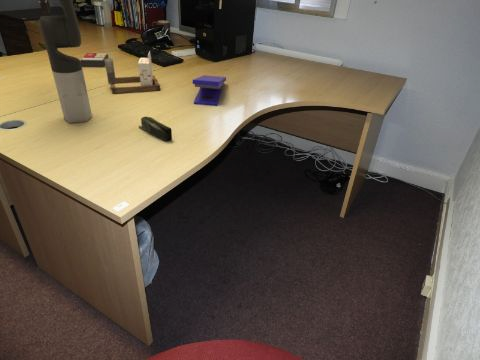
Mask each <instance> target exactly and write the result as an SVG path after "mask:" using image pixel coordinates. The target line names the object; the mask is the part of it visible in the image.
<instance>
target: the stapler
mask: <svg viewBox="0 0 480 360" xmlns="http://www.w3.org/2000/svg"><path fill="white" fill-rule="evenodd" d="M226 81H227V76H219V75H218V76H216V75H207V74H206V75H205V74H204V75H202V76H199V77H196V78H194V79H192V85H194V87H195V88H199V90H198V92H197V94H196V96H195V98H194V100H193V105H199V106H200V105H201V106H209V107H210V106H212V107H214V106H215V107H218V106H219V103H220V100H221V96H222V91H223V89H224V85H225V82H226Z"/></svg>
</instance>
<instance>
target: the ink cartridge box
mask: <svg viewBox="0 0 480 360" xmlns="http://www.w3.org/2000/svg"><path fill="white" fill-rule="evenodd" d="M137 64H138V70H139V72H138V73H139V76H140V81H139V82H140V86H149V85H154V84H153V76H154V75H153V66H152V64H153V63H152V56H151V51H150V50H149V52H148V54H147V57H140V58H139V60H138V62H137Z"/></svg>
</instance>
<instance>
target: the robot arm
mask: <svg viewBox="0 0 480 360" xmlns="http://www.w3.org/2000/svg"><path fill="white" fill-rule="evenodd" d="M37 1H38V3H39V5H40V10H41V13H42V14H43V16H40V18H39V21H38V22H39V29H40V34H41V37H42V39H43V42H44V45H45V49H46V52H47V53H46V54H47V56H48V59H49V65H50V68H51V72H52V76H53V80H54V83H55V89H56V91H57V96H58V100H59V103H60V107H61V112H62V115H63V118H64V120H65V121H66V122H68V123H69V124H72V123H80V122H81V123H82V122H83V123H84V122H88V121H89V120H90V119H92V117H93V113H92V108H91V103H90V99H89V98H90V97H89V95H88V89H87V85H86V80H85V74H84V71H83V70H84V69H83V67H82V64H81V61H80V60H81V59H80V58H78V57H75V56H71V55H68V54H66V53H63V52H61V51H60V50H58V49H68V48H79V47H80V46H81V45H82V35H81V30H80V26H79V22H78V18H77V14H76V9H75V7H74V3H73V0H57V1H58V3H59V4H60V6H61V9H63V12H64V15H49V14H50V11H51V5H50V1H49V0H37Z"/></svg>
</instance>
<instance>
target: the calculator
mask: <svg viewBox="0 0 480 360" xmlns="http://www.w3.org/2000/svg"><path fill="white" fill-rule="evenodd" d="M107 58H109V54H108V53H103V52H102V53H100V52H99V53H98V52H95V53H94V52H86V54H85V55H84V56H83V57H82V58H81V59H79V60H80V61H81V64H82V68H106V66H105V59H107Z"/></svg>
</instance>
